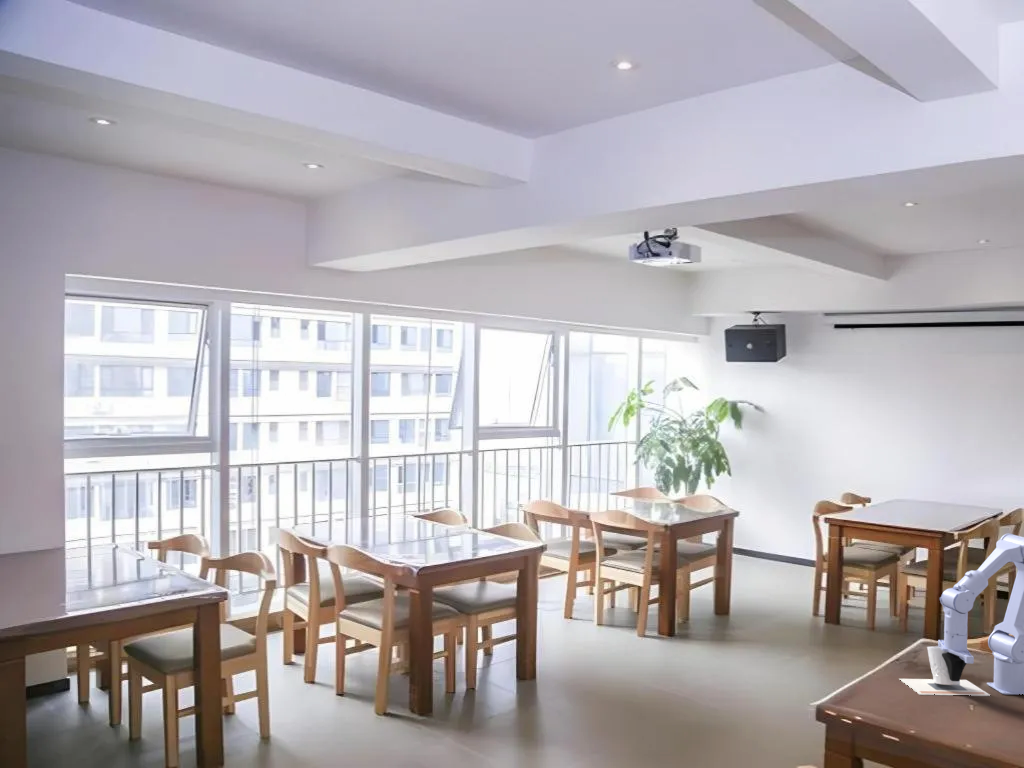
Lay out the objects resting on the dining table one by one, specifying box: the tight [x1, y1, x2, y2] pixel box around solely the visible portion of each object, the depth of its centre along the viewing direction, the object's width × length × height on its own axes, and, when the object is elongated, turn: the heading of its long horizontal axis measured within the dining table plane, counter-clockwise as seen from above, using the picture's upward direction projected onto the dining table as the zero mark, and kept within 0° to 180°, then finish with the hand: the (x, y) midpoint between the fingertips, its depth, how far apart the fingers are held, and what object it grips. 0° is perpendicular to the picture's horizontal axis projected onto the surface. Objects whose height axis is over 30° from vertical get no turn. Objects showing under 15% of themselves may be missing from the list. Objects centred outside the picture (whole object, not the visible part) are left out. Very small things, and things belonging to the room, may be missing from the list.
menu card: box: [898, 678, 991, 697], centre depth 231 cm, size 20×12×1 cm, turn 90°
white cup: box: [926, 645, 960, 685], centre depth 233 cm, size 8×8×10 cm
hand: (954, 680), depth 227 cm, fingers closed
